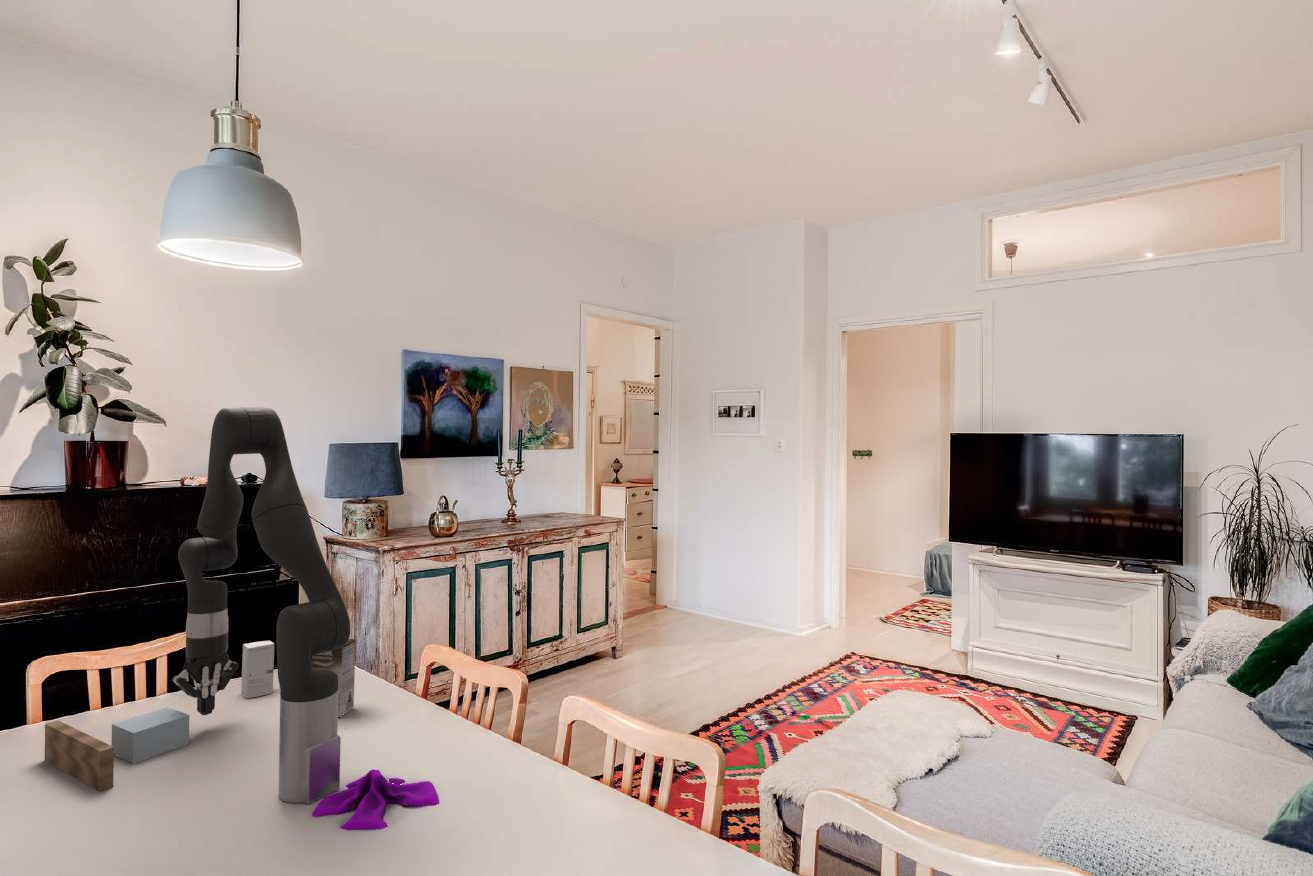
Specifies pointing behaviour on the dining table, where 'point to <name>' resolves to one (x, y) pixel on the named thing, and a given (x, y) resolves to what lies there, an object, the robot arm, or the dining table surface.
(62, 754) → the plank
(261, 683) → the skincare box
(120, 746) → the block
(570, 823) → the dining table surface
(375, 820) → the cloth
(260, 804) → the dining table surface
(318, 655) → the coffee box
